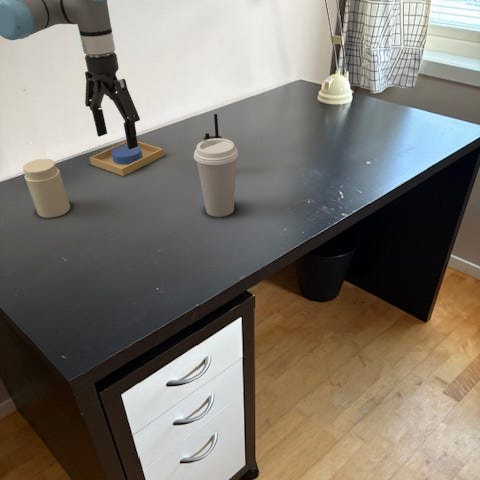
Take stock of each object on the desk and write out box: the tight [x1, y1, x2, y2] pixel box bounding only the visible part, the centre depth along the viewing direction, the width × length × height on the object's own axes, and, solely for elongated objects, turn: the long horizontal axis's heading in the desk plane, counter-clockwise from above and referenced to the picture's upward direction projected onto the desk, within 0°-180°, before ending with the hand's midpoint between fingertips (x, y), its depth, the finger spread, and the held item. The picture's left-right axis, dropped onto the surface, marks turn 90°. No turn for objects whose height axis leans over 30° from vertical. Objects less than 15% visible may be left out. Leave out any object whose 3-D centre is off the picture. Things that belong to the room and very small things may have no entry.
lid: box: [111, 145, 143, 165], centre depth 131 cm, size 8×8×2 cm
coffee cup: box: [193, 138, 239, 218], centre depth 105 cm, size 10×10×15 cm
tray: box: [89, 140, 165, 177], centre depth 131 cm, size 13×15×2 cm
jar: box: [22, 158, 71, 219], centre depth 109 cm, size 8×8×11 cm
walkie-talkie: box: [202, 113, 223, 141], centre depth 119 cm, size 5×3×15 cm
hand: (117, 141), depth 128 cm, fingers open, 13 cm apart
